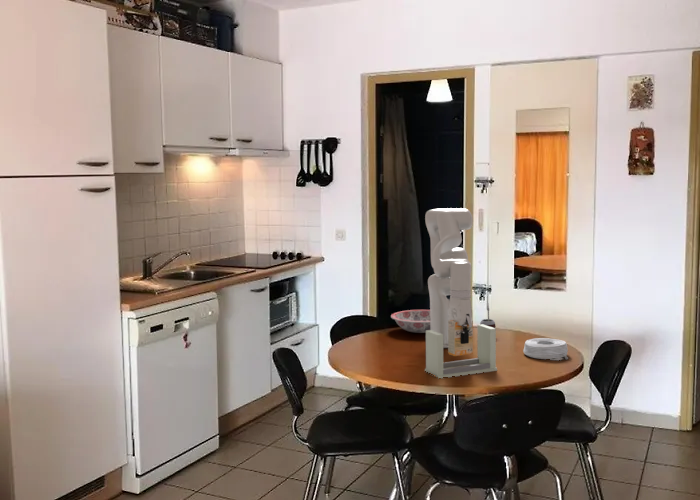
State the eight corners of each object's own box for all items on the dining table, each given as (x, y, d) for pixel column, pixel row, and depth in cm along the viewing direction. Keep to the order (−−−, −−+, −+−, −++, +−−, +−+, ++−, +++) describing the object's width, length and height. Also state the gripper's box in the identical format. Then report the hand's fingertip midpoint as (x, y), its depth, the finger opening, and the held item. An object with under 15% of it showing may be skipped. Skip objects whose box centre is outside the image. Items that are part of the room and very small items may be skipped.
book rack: (424, 371, 275) (424, 330, 274) (481, 363, 285) (481, 323, 283) (439, 378, 265) (438, 335, 263) (497, 370, 274) (497, 329, 273)
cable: (569, 361, 286) (569, 346, 285) (524, 360, 289) (524, 345, 289) (565, 351, 303) (565, 336, 302) (522, 350, 307) (522, 335, 306)
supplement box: (454, 356, 270) (454, 322, 269) (447, 354, 275) (447, 320, 274) (473, 354, 274) (473, 320, 272) (466, 351, 278) (466, 317, 277)
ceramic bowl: (387, 326, 358) (387, 310, 357) (446, 324, 360) (446, 308, 359) (394, 339, 329) (394, 322, 329) (458, 337, 331) (458, 320, 330)
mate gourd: (486, 339, 325) (486, 306, 324) (475, 336, 332) (475, 304, 330) (499, 337, 329) (499, 305, 327) (487, 334, 336) (487, 302, 334)
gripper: (440, 291, 278) (440, 338, 280) (463, 298, 263) (463, 347, 265) (457, 290, 281) (457, 336, 283) (481, 296, 265) (481, 345, 267)
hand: (460, 341), depth 274 cm, fingers closed on supplement box, 4 cm apart
